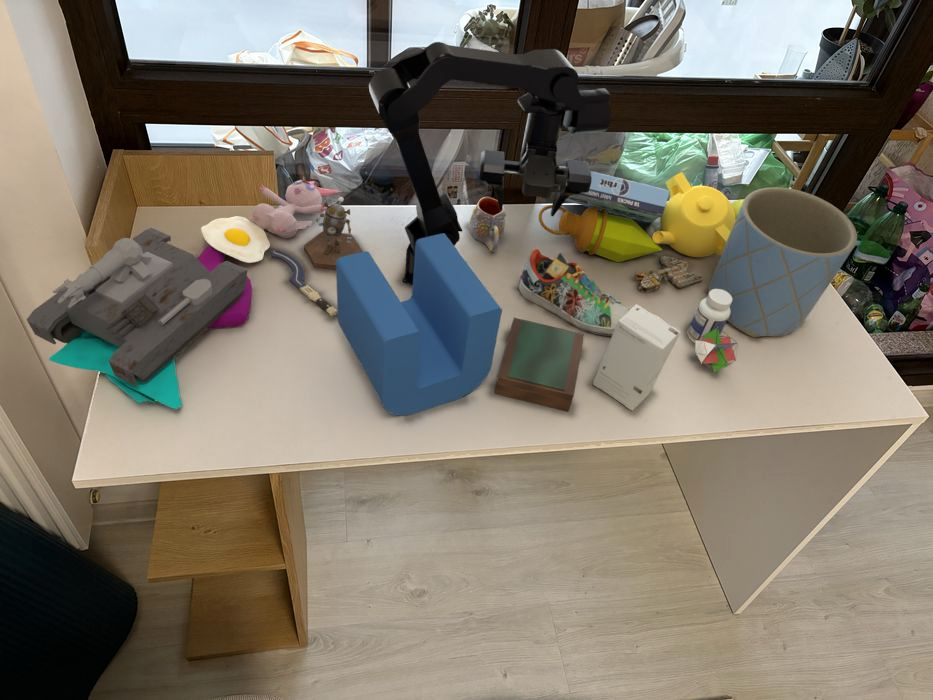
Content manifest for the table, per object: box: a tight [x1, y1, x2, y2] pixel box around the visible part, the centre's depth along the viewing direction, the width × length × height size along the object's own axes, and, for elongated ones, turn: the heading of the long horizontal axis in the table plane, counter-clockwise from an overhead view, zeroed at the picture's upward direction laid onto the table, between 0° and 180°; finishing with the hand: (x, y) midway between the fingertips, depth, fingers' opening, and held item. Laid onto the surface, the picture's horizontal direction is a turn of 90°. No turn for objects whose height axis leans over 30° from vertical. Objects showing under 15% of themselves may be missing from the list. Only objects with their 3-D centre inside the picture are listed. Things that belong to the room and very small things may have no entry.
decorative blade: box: [270, 248, 338, 318], centre depth 130 cm, size 21×1×5 cm
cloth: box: [48, 330, 183, 410], centre depth 112 cm, size 26×14×2 cm, turn 66°
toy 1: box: [26, 227, 248, 386], centre depth 111 cm, size 25×20×15 cm
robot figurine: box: [303, 196, 364, 270], centre depth 131 cm, size 11×9×12 cm
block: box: [335, 233, 503, 416], centre depth 112 cm, size 18×18×18 cm
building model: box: [634, 255, 704, 294], centre depth 140 cm, size 15×9×2 cm, turn 128°
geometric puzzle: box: [693, 327, 739, 374], centre depth 124 cm, size 7×7×8 cm
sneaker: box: [517, 248, 630, 337], centre depth 128 cm, size 8×21×10 cm, turn 60°
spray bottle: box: [196, 233, 253, 330], centre depth 126 cm, size 3×11×24 cm
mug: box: [468, 196, 507, 253], centre depth 141 cm, size 12×7×7 cm, turn 6°
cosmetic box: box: [592, 303, 682, 411], centre depth 115 cm, size 8×6×15 cm
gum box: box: [564, 170, 670, 223], centre depth 143 cm, size 20×5×23 cm
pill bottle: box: [686, 289, 732, 344], centre depth 127 cm, size 5×5×10 cm
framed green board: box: [493, 317, 585, 413], centre depth 119 cm, size 12×14×4 cm
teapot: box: [651, 171, 735, 258], centre depth 143 cm, size 20×18×11 cm
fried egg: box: [200, 215, 271, 264], centre depth 132 cm, size 12×12×1 cm
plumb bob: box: [538, 204, 663, 263], centre depth 141 cm, size 9×9×25 cm
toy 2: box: [248, 179, 343, 239], centre depth 140 cm, size 15×7×20 cm
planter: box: [707, 187, 858, 338], centre depth 130 cm, size 19×19×20 cm
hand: (526, 212), depth 130 cm, fingers open, 9 cm apart
